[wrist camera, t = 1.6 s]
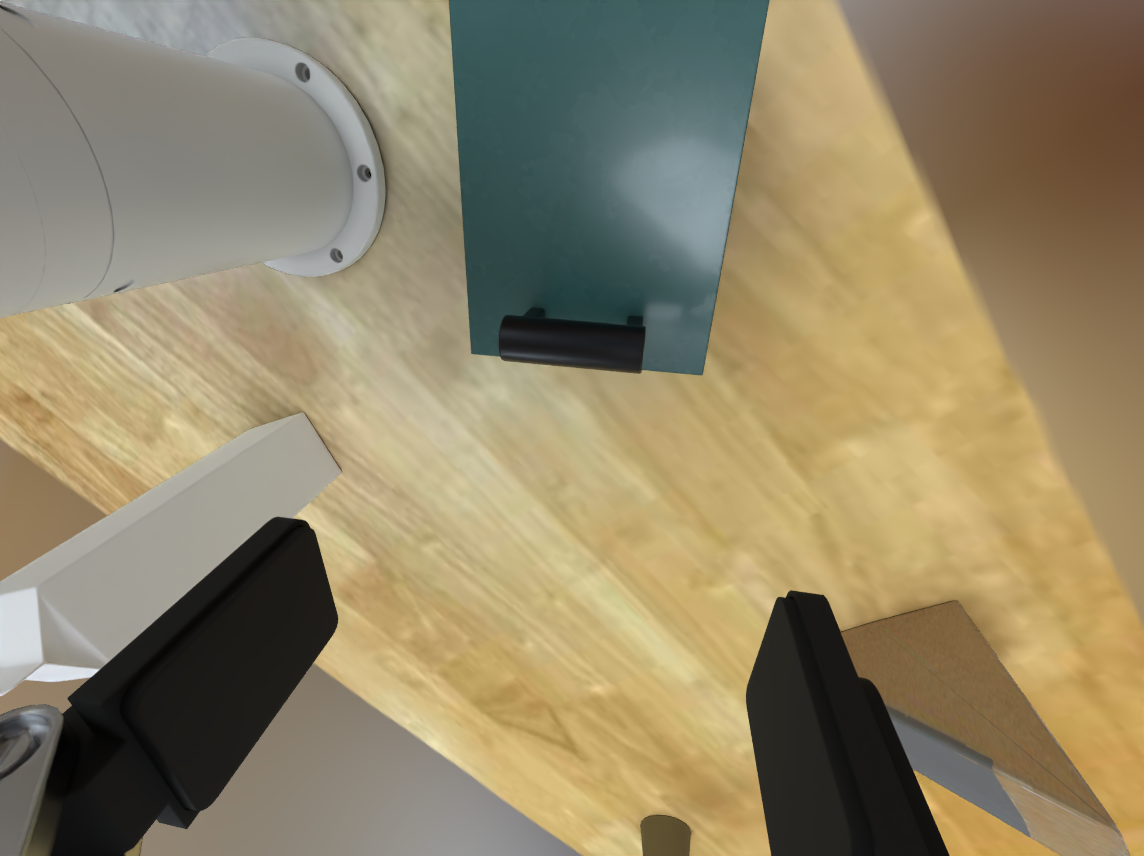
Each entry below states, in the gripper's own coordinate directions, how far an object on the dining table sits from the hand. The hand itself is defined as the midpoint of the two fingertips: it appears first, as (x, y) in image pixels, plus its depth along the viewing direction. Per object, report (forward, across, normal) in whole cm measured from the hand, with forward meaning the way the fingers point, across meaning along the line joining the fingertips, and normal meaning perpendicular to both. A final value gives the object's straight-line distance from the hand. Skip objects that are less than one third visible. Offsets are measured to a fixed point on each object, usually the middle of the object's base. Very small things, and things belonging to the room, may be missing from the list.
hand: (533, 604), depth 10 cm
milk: (+24, +26, +14) cm, 38 cm away
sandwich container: (+24, -24, +28) cm, 44 cm away
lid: (+16, +1, -7) cm, 17 cm away
